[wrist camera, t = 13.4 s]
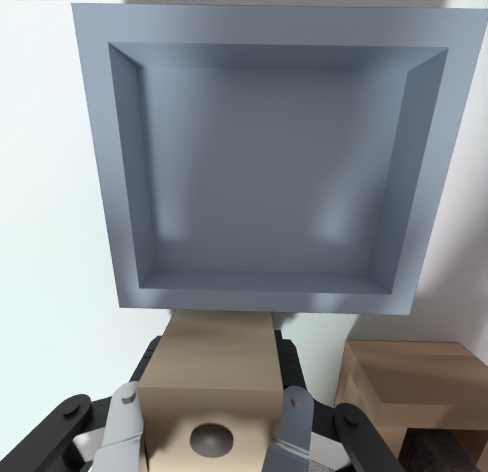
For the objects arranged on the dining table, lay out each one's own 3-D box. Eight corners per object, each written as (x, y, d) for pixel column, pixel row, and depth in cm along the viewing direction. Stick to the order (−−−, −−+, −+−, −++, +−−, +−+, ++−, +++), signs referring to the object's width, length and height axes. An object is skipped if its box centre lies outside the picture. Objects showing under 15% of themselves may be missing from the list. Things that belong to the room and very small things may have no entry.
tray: (374, 282, 13) (409, 315, 10) (147, 276, 13) (119, 307, 10) (420, 54, 10) (490, 9, 7) (121, 49, 10) (71, 3, 7)
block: (264, 363, 15) (275, 488, 9) (188, 361, 15) (150, 484, 9) (268, 295, 14) (284, 393, 8) (183, 293, 14) (135, 389, 8)
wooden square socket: (430, 424, 16) (486, 503, 13) (331, 421, 16) (356, 498, 13) (459, 342, 14) (537, 407, 10) (346, 340, 14) (381, 403, 11)
